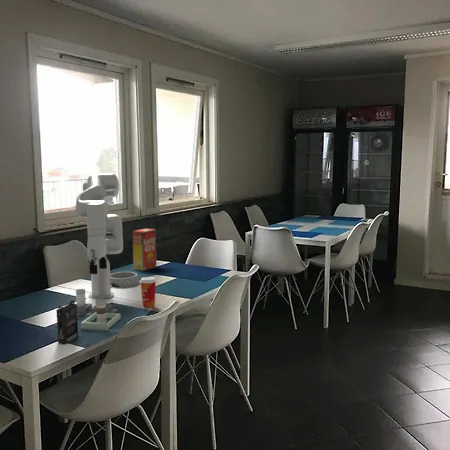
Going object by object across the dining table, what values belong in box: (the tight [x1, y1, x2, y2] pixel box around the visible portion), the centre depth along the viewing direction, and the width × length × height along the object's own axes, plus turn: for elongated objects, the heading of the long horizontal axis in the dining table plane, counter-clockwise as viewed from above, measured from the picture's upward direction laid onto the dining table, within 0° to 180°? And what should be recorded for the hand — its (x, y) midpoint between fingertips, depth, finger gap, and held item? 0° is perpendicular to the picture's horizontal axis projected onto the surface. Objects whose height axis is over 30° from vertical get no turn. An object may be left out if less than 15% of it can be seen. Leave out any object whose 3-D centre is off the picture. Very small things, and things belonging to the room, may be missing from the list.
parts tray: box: [80, 312, 122, 332], centre depth 218 cm, size 14×12×3 cm
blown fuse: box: [95, 299, 108, 323], centre depth 218 cm, size 4×4×10 cm
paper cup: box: [139, 276, 157, 309], centre depth 243 cm, size 8×8×14 cm
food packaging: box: [132, 227, 157, 272], centre depth 324 cm, size 13×9×25 cm
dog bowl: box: [110, 271, 141, 289], centre depth 287 cm, size 17×18×5 cm
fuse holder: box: [77, 303, 118, 316], centre depth 234 cm, size 10×22×4 cm, turn 80°
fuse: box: [75, 288, 87, 308], centre depth 234 cm, size 4×4×10 cm
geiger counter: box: [56, 300, 79, 346], centre depth 200 cm, size 10×4×15 cm, turn 163°
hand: (98, 271), depth 217 cm, fingers open, 9 cm apart
